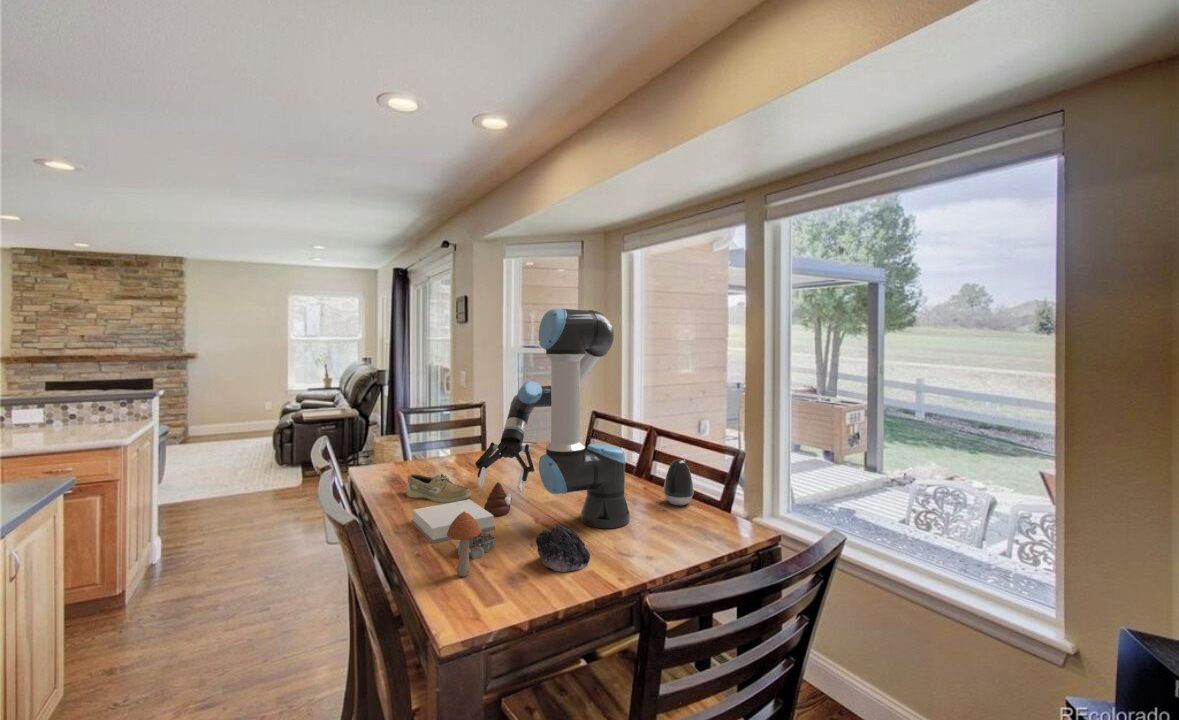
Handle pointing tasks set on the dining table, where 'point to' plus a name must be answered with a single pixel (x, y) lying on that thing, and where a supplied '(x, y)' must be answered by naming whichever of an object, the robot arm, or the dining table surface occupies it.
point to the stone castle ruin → (479, 545)
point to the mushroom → (463, 538)
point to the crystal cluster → (562, 550)
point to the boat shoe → (435, 489)
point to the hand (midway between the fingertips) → (499, 488)
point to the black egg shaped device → (678, 483)
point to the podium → (449, 518)
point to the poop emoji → (498, 501)
